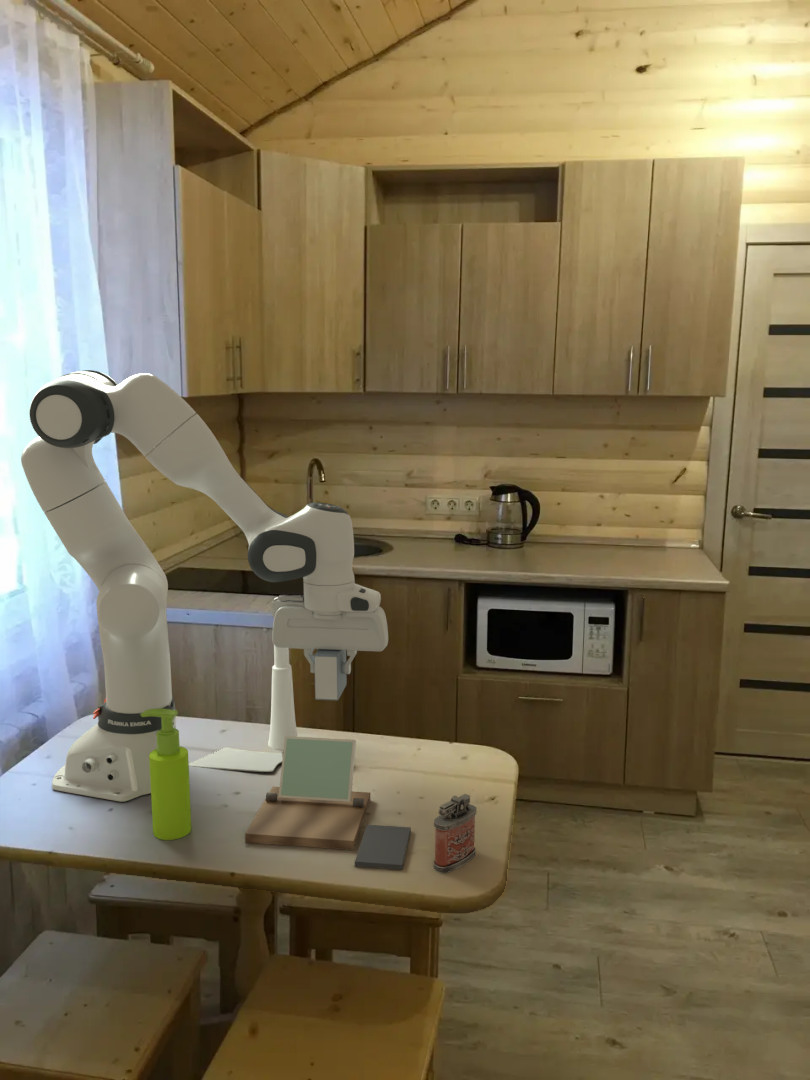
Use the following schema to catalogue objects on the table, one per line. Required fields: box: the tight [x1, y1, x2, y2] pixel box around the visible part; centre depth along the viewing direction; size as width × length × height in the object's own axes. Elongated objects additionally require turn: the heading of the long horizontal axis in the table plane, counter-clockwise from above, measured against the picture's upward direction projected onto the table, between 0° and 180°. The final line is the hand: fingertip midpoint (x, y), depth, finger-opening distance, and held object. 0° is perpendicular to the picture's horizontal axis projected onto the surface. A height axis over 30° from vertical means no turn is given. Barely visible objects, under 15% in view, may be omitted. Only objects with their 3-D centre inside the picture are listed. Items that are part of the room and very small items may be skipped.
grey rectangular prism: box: [313, 649, 348, 701], centre depth 157 cm, size 4×8×8 cm, turn 173°
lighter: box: [433, 793, 477, 874], centre depth 132 cm, size 8×3×10 cm, turn 136°
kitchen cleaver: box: [189, 746, 283, 773], centre depth 166 cm, size 31×2×10 cm
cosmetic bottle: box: [267, 644, 299, 751], centre depth 172 cm, size 6×6×22 cm
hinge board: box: [244, 786, 371, 851], centre depth 145 cm, size 17×16×3 cm
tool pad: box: [354, 823, 412, 871], centre depth 137 cm, size 7×11×1 cm, turn 173°
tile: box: [278, 736, 357, 802], centre depth 149 cm, size 12×10×1 cm
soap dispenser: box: [140, 708, 192, 841], centre depth 140 cm, size 6×7×20 cm
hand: (330, 672), depth 157 cm, fingers closed on grey rectangular prism, 4 cm apart
